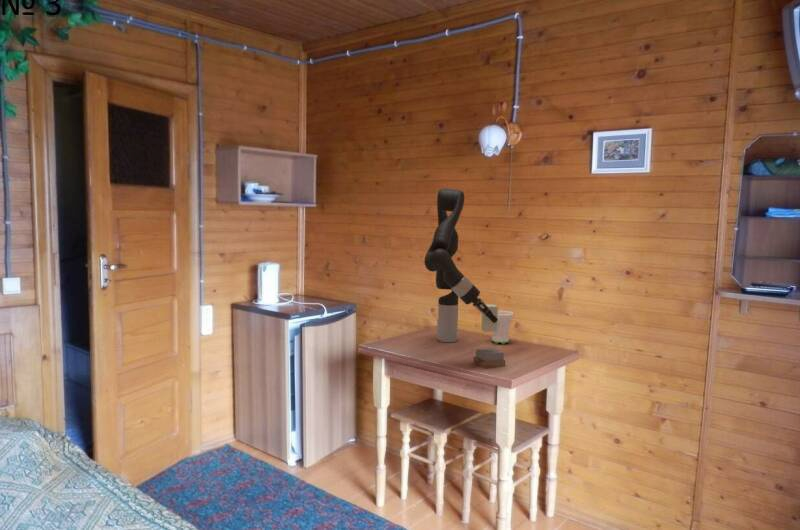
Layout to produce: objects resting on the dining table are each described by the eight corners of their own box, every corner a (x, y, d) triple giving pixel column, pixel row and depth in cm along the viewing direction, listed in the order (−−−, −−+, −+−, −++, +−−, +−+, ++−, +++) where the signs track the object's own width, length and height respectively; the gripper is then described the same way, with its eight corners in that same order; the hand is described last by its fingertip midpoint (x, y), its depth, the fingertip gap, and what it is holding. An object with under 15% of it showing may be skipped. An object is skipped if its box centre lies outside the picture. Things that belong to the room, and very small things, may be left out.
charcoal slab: (475, 356, 233) (475, 349, 232) (492, 354, 236) (492, 347, 236) (486, 361, 225) (486, 354, 225) (503, 359, 229) (503, 352, 228)
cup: (494, 346, 260) (495, 315, 259) (484, 340, 271) (485, 310, 270) (516, 345, 263) (517, 314, 262) (505, 339, 274) (507, 309, 273)
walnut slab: (473, 364, 233) (473, 357, 232) (491, 361, 237) (491, 354, 237) (486, 370, 225) (487, 362, 224) (505, 367, 229) (505, 360, 229)
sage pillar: (481, 328, 232) (482, 304, 231) (493, 329, 232) (494, 304, 231) (484, 331, 227) (485, 306, 226) (496, 331, 227) (497, 306, 226)
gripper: (476, 285, 220) (505, 317, 222) (468, 280, 234) (496, 310, 236) (461, 299, 220) (491, 330, 222) (455, 293, 234) (483, 322, 236)
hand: (494, 319), depth 229 cm, fingers closed on sage pillar, 5 cm apart
